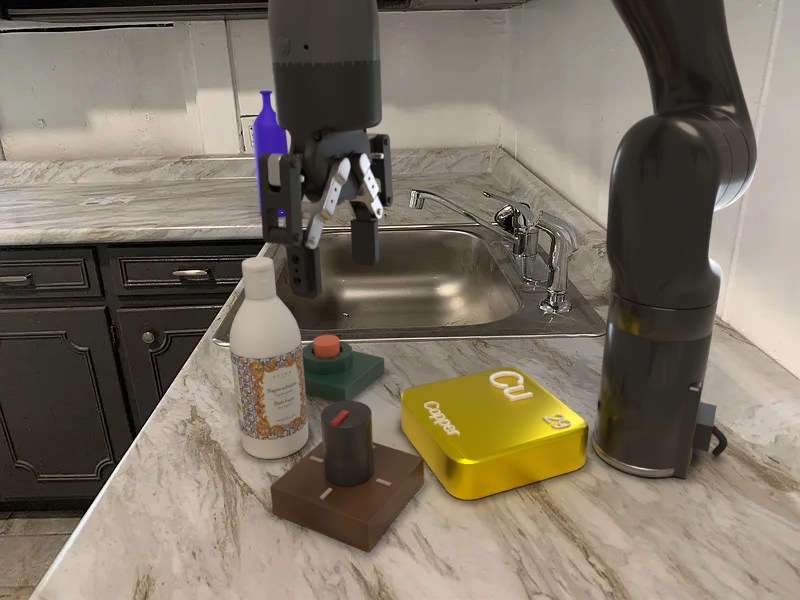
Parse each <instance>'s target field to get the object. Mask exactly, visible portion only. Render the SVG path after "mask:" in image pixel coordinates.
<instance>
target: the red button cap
mask: <svg viewBox="0 0 800 600" xmlns="http://www.w3.org/2000/svg"><path fill="white" fill-rule="evenodd" d="M340 341H341V340H340V338H339V337H338V336H337V335H333V334H323V335H318V336H316V337H315V338H313V340H312V342H313V345H314V355H315V356H319V357H332V356H335V355H338V354H339V353H340Z"/></svg>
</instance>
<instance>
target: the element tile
mask: <svg viewBox="0 0 800 600" xmlns="http://www.w3.org/2000/svg"><path fill="white" fill-rule="evenodd" d="M400 408H401V409H400V416H401V417H400V421H401V430H402V432H403V433H404V435H405V436H406V437H407V439H408V441H409V442H410V443H411V444H412V445H413V447H414V448H415V450H416V451H417V452H418V453H419V456H420V457H423V458H424V463H426V465H427V466H428V467H429V468H430V470H431V472H433V474H434V475H435V476H436V478H437V479H438V481H439V482H440V484H441V485H442V486H443V487H444V489H445V490H446V492H447V493H449V494H450V495H451V496H452V497H454V498H457V499H460V500H464V501H465V500H467V501H468V500H470V501H471V500H478V499H483V498H484V497H485V498H486V497H488V496H492V495H495V494H498V493H501V492H505V491H509V490H513V489H516V488H519V487H522V486H526V485H529V484H534V483H536V482H540V481H543V480H547V479H550V478H555V477H556V476H560V475H564V474H567V473H571V472H574V471H577V470H579V469H581V468H582V467H583V466H584V465H585V464H586V459H587V450H588V444H589V443H588V442H589V433H590V432H589V431H590V427H589V424H588V422H587V421H585V419H584V418H583V417H582V416H580V415H579V414H577V412H575V411H574V410H572V409H571V408H570V407H569V406H567V405H566V404H565V403H564V402H562V401H561V400H559V398H557V397H556V396H555V395H554V394H552V392H550V391H549V390H547V389H546V388H545V387H543V386H542V385H541V384H540V383H538V382H537V381H536V380H534V379H533V378H532V377H531V376H529V375H528V374H527V373H526V372H524V371H522V370H521V369H519V368H517V367H514V366H506V367H498V368H494V369H488V370H485V371H480V372H474V373H469V374H465V375H461V376H456V377H452V378H447V379H442V380H436V381H432V382H428V383H423V384H419V385H413V386H411V387H408V388H406V389H404V390H403V391H402V392H401V394H400Z"/></svg>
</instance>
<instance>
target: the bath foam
mask: <svg viewBox="0 0 800 600" xmlns="http://www.w3.org/2000/svg"><path fill="white" fill-rule="evenodd" d="M241 271H242V280H243V288H244V295H245V297H244V299H243V302H242V304H241V305H240V307H239V309H238V311H237V312H236V314H235V316H234V319H233V321H232V323H231V327H230V332H229V354H230V361H231V363H230V364H231V370H232V377H233V384H234V385H233V387H234V394H235V401H236V409H237V417H238V425H239V431H240V439H241V445H242V447H243V450H244V451H245V452H246V453H247V454H249V455H250V456H253V457H255V458H259V459H262V460H263V459H265V460H275V459H281V458H285V457H288V456H291V455H294V454H295V453H297V452H299V451H300V450H301V449H302V448H303V447H305V445H306V444H307V442H308V439H309V435H310V433H309V419H308V406H307V405H308V404H307V394H306V392H305V379H304V367H303V355H302V348H303V344H302V336H301V331H300V328H299V325H298V322H297V320H296V318H295V317H294V315H293V313H292V312H291V310H290V309H289V308H288V307H287V306H286V304H285V303H284V302H283V301H282V300H281V299H280V297H279V296H278V295H277V287H276V276H275V275H276V274H275V265H274V260H273V259H272V258H270V257H269V256H268V257H267V256H253V257H249V258H246V259H244V260H243V261H242V262H241Z"/></svg>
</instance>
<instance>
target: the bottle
mask: <svg viewBox="0 0 800 600" xmlns="http://www.w3.org/2000/svg"><path fill="white" fill-rule="evenodd" d="M258 93H259V94H260V95H261V100H262V108H261V110H260V112H259V114H258V115H257V116H256V117H255V119H254V121H253V123H252V143H253V155H254V166H255V176H256V185H257V195H258V204H259V210H260V211H261V199H260V182H259V166H258V160H259V157H260V155H261V154H262V153H273V154H289V147H288V139H287V130H284V129H282V128H281V127H279V125H278V124H277V121H276V110H274V109H273V107H272V100H271V94H273V90H259V91H258ZM281 212H283V213H281ZM279 217H285V212H284V211H283V210H282V209H278V218H279Z"/></svg>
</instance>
